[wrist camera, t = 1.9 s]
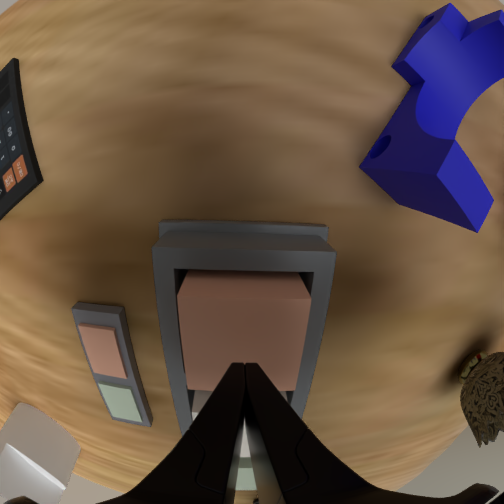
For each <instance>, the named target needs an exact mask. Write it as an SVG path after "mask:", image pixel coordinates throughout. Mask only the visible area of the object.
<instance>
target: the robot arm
mask: <svg viewBox="0 0 504 504" xmlns="http://www.w3.org/2000/svg"><path fill="white" fill-rule="evenodd" d="M244 418H245V429H246V435H247V440H248V446H249V452H250V457H251V462H252V468H253V473H254V478H255V484H256V489H257V494H258V499H257V500H254V501H253V504H485V503H486V502H488V501H489V500H490V499H491V498H493V497H494V496H495V495H496V494H497V493H498V492H499V490H497V489H496V488H495V487H493V486H490V485H485V484H479V483H476V484H474V485H472V486H470V487H469V488H467V489H466V490H464V491H462V492H461V493H459V494H457V495H455V496H451V497H445V498H433V497H425V496H417V495H410V494H405V493H399V492H394V491H389V490H385V489H381V488H378V487H376V486H374V485H372V484H370V483H369V482H367V481H366V480H364V479H363V478H362V477H360V476H359V475H358V474H357V473H355V472H354V471H353V470H352V469H350V468H349V467H348V466H347V465H346V464H344V463H343V462H342V461H341V460H340V459H338V458H337V457H336V456H335V455H334V454H333V453H332V452H331V451H329V450H328V449H327V448H326V447H325V446H324V445H323V444H322V442H321V441H320V440H319V439H318V438H317V437H316V436H315V435H314V434H313V432H312V431H311V430H310V429H308V426H307V425H306V424H305V423H304V422H303V420H302V419H301V418H300V417H299V416H298V414H297V413H296V412H295V411H294V409H293V408H292V407H291V406H290V404H289V403H288V402H287V401H286V399H285V398H284V397H283V396H282V394H281V393H280V392H279V390H278V389H277V388H276V387H275V385H274V384H273V383H272V381H271V380H270V379H269V377H268V376H267V375H266V373H265V372H264V371H263V369H262V368H261V367H260V365H259V364H258V363H256V362H246V363H245V365H244V363H243V362H232V363H231V364H230V366H229V367H228V369H227V370H226V372H225V374H224V375H223V377H222V378H221V380H220V381H219V383H218V384H217V386H216V388H215V389H214V391H213V392H212V394H211V395H210V397H209V398H208V400H207V401H206V403H205V404H204V406H203V407H202V409H201V410H200V412H199V413H198V415H197V416H196V418H195V419H194V421H193V422H192V424H191V425H190V426H189V428H188V429H189V430H187V431H186V432H185V434H184V435H183V436H182V438H181V439H180V440H179V442H178V443H177V444H176V446H175V447H174V448H173V450H172V451H171V452H170V453H169V454H168V455H167V456H166V457H165V458H164V459H163V460H162V461H161V462H160V463H159V464H158V465H157V466H156V467H155V468H154V469H153V470H152V471H151V472H150V473H149V474H148V475H147V476H146V477H145V478H144V479H143V480H142V481H141V482H140V483H139V484H138V485H137V486H135V487H134V488H133V489H132V490H130V491H129V492H127V493H125V494H123V495H121V496H119V497H116V498H113V499H110V500H107V501H103V502H100V503H97V504H234V497H235V489H236V482H237V475H238V468H239V460H240V453H241V445H242V438H243V430H244ZM4 504H39V503H37V502H35V501H33V500H32V499H30V498H28V497H26V496H20V497H16V498H13V499H10V500H8V501H7V502H5V503H4ZM489 504H504V492H503V493H502V494H500V495H499V496H498V497H497V498H495V499H494V500H493V501H491V502H490V503H489Z"/></svg>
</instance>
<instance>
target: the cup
mask: <svg viewBox="0 0 504 504" xmlns="http://www.w3.org/2000/svg"><path fill="white" fill-rule="evenodd" d="M458 379H459V382H460V383H461V384H463V387H462V390H461V396H460V401H461V407H462V410H463V413H464V415H465V417H466V420H467V422H468V424H469V426H470V428H471V430H472V432H473V434H474V436H475V438H476V441H477V443H478V446H479V447H481V444H482V441H483V442H484V443H485V445H488V440H489V441H491V442H494V441H495V440H496V437H497V435H498V432H499V430H501V431H503V432H504V352H496V353H493V354H491V355H489V356H488V353H487V352H486V351H484V350H476V351H474V352H473V353H472V354H470V355H469V356H468V357H467V358H466V359H465V361H464V362H463V364H462V365H461V367H460V369H459V372H458Z"/></svg>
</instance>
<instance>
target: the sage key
mask: <svg viewBox="0 0 504 504" xmlns="http://www.w3.org/2000/svg"><path fill="white" fill-rule="evenodd" d="M235 490H257V489H256V484H255V478H254V473H253V468H252V462H251V457H240V460H239V468H238V475H237V482H236V489H235Z"/></svg>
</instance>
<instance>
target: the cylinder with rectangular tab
mask: <svg viewBox="0 0 504 504" xmlns="http://www.w3.org/2000/svg"><path fill="white" fill-rule="evenodd" d="M80 451H81V448H80V445H79V444H78V442H77V441H76V439H75V438H74V437H73V436H72V435H71V434H70V433H69V432H68V431H67V430H65V429H64V428H63V427H62V426H61V425H60V424H58V423H57V422H56V421H55V420H53V419H52V418H50V417H49V416H48V415H46V414H45V413H43V412H42V411H40V410H38V409H37V408H35V407H33V406H31V405H29V404H26V403H18V404H17V406H16V407H15V409H14V410H13V412H12V413H11V415H10V416H9V418H8V419H7V421H6V423H5V424H4V426H3V427H2V429H1V431H0V495H1V496H2V497H3V498H5V499H6V500H7V501H8V500H10V499H13V498H16V497H20V496H26V497H28V498H30V499H32V500H33V501H35V502H37V503H39V504H59V502H60V498H61V496H62V493H63V490H66V487H67V485H68V482H69V479H70V476H71V474H72V471H73V469H74V466H75V463H76V461H77V458H78V456H79V453H80Z"/></svg>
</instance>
